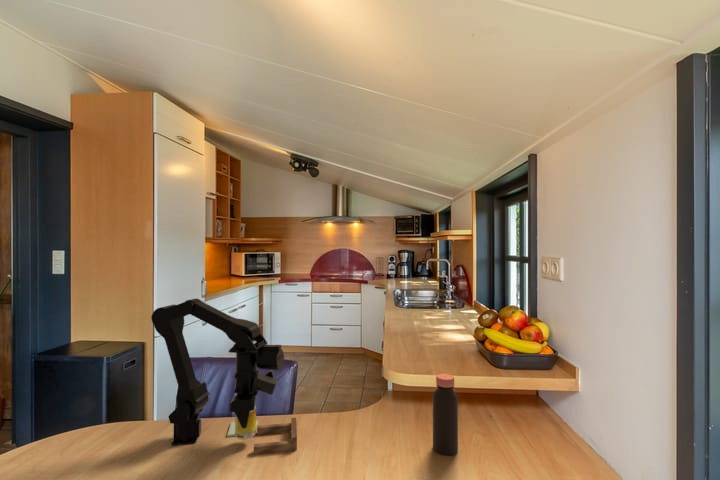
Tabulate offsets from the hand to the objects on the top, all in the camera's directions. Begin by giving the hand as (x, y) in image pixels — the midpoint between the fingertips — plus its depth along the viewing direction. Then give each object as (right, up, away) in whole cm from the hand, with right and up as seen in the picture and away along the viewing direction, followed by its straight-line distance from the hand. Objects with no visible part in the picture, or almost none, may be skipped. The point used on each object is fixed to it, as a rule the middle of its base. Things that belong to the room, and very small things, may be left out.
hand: (245, 422), depth 105 cm
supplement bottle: (0, -4, 0) cm, 4 cm away
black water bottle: (+56, -6, -3) cm, 57 cm away
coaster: (-3, -6, +8) cm, 11 cm away
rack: (+8, -6, +1) cm, 10 cm away
